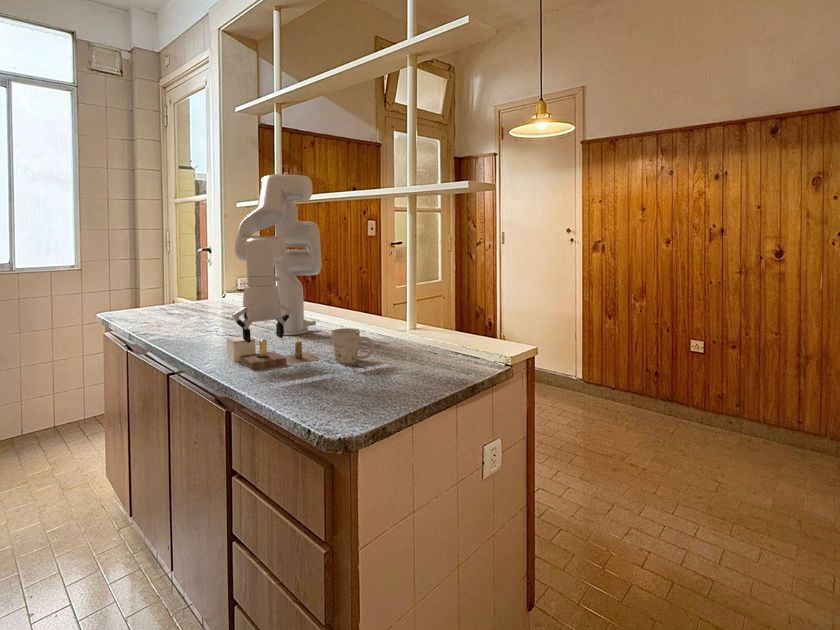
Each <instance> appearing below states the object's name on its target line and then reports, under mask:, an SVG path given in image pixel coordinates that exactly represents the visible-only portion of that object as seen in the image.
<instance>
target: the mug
mask: <svg viewBox="0 0 840 630" xmlns="http://www.w3.org/2000/svg"><path fill="white" fill-rule="evenodd" d="M330 333H331V340H332V345H333V346H332V347H333V352H334V360H335V363H339V364H352V363H356V362H357V360H358V359H359V360H361V359H362V360H365V359H368V358H369V357H371V356H372V354H373V353H374V351H375V343H374V341H373V340H372V339H371V338H370V337H369V336H360V334H361V331H360V330H359V329H358V328H357V329H356V328H335V329H333V330H331V332H330ZM360 341H361V342H367V343H368V345H369V350H368V352H367V353H366V355H358V353H359V352H358V350H359V345H360V344H359V343H360Z"/></svg>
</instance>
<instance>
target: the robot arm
mask: <svg viewBox="0 0 840 630" xmlns="http://www.w3.org/2000/svg"><path fill="white" fill-rule="evenodd" d="M313 190H314V189H313V183H312V180H311V178H310V177H309V176H307V175H301V174H269V175H265V176H263V177H262V178H261V180H260V191H259V195H258V196H259V197H258V202H257V208H256V209H255V210H253V211H252V212H251V213H249V214H248V215H247V216H245V218H244V219H242V221H241V222H240V224H239V225H238V229H237V232H236V238H235V242H234V249H235V250H234V251H235V255H236V257H237V259H239V260H240V261H242V262H246V277H247V278H246V279H247V282H246V283H247V286H244V288H243V289H244V290H243V297H242V308H240V309H239V310H236V311H235V312H234V313H233V314H231V317H232V318H233V321H234V322H235V323H236V324H237V325H238V326H239V327H241V328H242V336H243V339H244V340H245V341H246V342H247V343H250V342H251V337H252V336H251V329H250V328H249V327H250V326H251V324H252V323H257V322H266V321H274V320H275V321H276V322H277V323H276V324H275V328H274V333H275V335H276V337H278V338H279V339H283V338H284V336H297V335H304V334H306V333H309V326H311V327H312V326H316V325H317V321H316V320H307V319H305V310H304V309H305V308H304V306H305V305H304V287H303V283H302V282H301V281H300V279H299V278H298V277H297V276H317V275H319V274H320V273H321V271H322V246H321V235H320V234H321V233H320V228H319V225H318V224H317V223H316V222H313V221H309V220H308V221H307V220H306V221H305V220H303V221H302V220H299V214H298V213H299V212H298V207H297V204H296V203H295V202H308V201H309V200H311V198H312V195H313ZM273 226H274V233H275V236H272V235H270V236H269V235H265V236H264V235H254V234H256V233H257V232H260V231H262V230H264V229H268V228H270V227H273ZM287 248H306V249H287ZM241 316H242V318H243V319H244V320H243V321H242V320H241V318H240V317H241Z"/></svg>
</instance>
